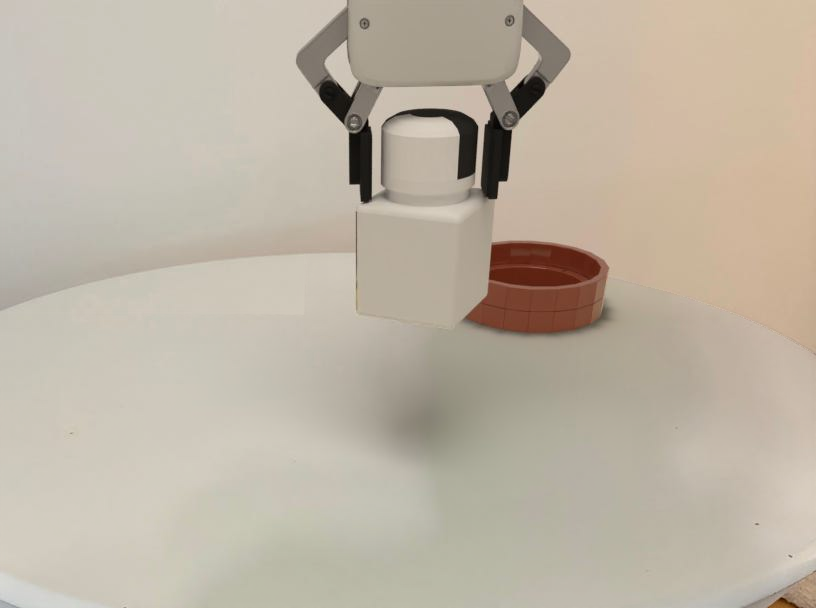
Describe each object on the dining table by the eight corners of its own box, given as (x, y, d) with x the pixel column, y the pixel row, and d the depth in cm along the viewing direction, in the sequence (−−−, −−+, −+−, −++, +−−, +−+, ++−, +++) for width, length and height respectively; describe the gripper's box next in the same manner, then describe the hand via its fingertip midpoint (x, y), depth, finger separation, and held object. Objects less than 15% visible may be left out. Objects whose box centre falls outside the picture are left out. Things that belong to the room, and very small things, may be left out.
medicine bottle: (395, 283, 72) (399, 98, 65) (488, 296, 70) (504, 106, 62) (354, 316, 67) (353, 120, 60) (453, 331, 65) (465, 129, 57)
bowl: (583, 289, 105) (590, 240, 102) (614, 342, 93) (624, 289, 90) (446, 289, 105) (449, 240, 102) (461, 342, 93) (465, 289, 90)
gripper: (588, -159, 56) (551, 177, 67) (280, -153, 56) (294, 182, 67) (619, -161, 50) (572, 209, 61) (275, -153, 50) (291, 214, 61)
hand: (427, 193), depth 64 cm, fingers closed on medicine bottle, 7 cm apart
